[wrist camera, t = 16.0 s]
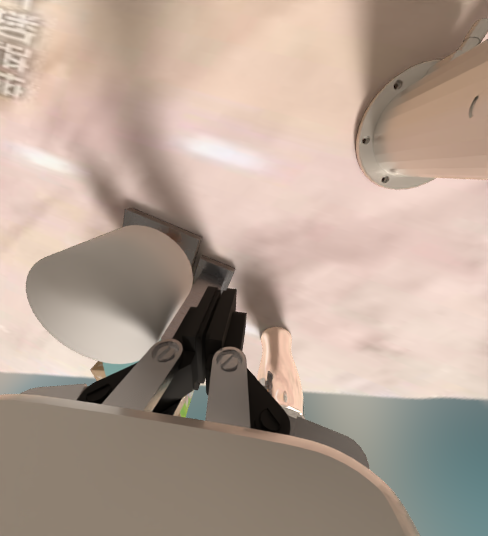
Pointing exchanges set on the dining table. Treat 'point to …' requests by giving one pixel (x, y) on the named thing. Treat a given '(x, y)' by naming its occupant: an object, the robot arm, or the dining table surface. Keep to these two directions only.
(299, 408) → the beer glass
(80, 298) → the press arm
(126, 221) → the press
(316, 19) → the dining table surface
